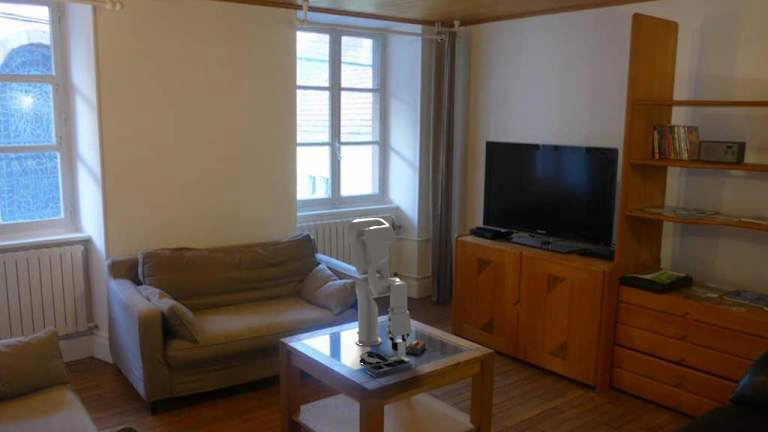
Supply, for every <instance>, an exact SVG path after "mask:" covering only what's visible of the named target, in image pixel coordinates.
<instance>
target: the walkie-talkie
mask: <svg viewBox="0 0 768 432" xmlns="http://www.w3.org/2000/svg"><path fill="white" fill-rule="evenodd" d="M425 348H426V341H424V340H418V339H415V340H412V341H410V343H409V344H408V343H406V349H405V354H406V353H407V354H413V355H419V354H420V353H422V351H423V350H425Z"/></svg>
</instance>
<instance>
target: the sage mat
mask: <svg viewBox="0 0 768 432" xmlns="http://www.w3.org/2000/svg"><path fill="white" fill-rule="evenodd" d="M401 358H402V359H403V360H405V361H407V362H411V360H410V359H409V358H407V357H406V356H405V357H400V358H397V357H395V356H393V357H389V358H387V360H388V361H393V360H397V359H401Z"/></svg>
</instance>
